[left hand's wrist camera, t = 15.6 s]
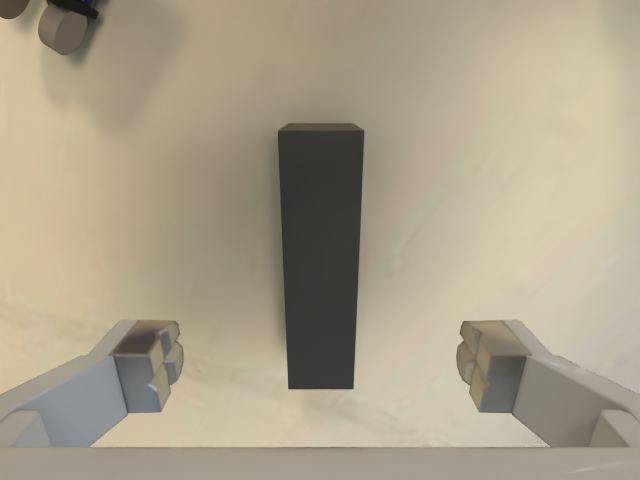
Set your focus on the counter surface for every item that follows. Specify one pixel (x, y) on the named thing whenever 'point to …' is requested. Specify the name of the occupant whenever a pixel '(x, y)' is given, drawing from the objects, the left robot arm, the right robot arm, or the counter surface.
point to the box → (321, 250)
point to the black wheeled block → (57, 21)
